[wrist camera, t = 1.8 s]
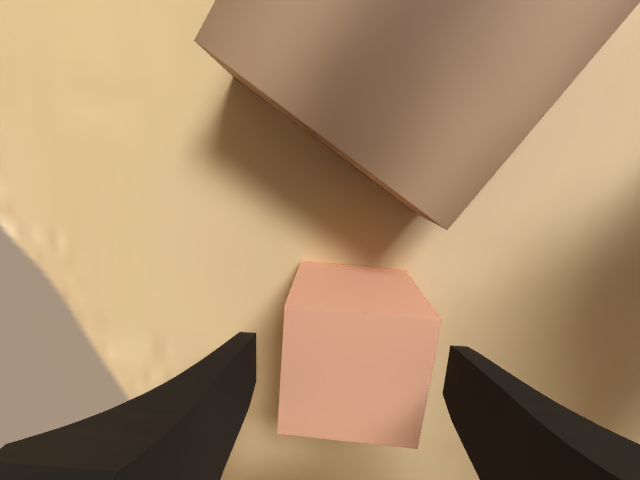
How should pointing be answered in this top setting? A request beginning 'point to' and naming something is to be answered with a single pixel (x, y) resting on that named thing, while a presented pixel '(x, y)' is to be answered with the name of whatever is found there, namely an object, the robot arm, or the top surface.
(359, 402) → the terracotta cube
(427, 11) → the walnut block
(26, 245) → the top surface
